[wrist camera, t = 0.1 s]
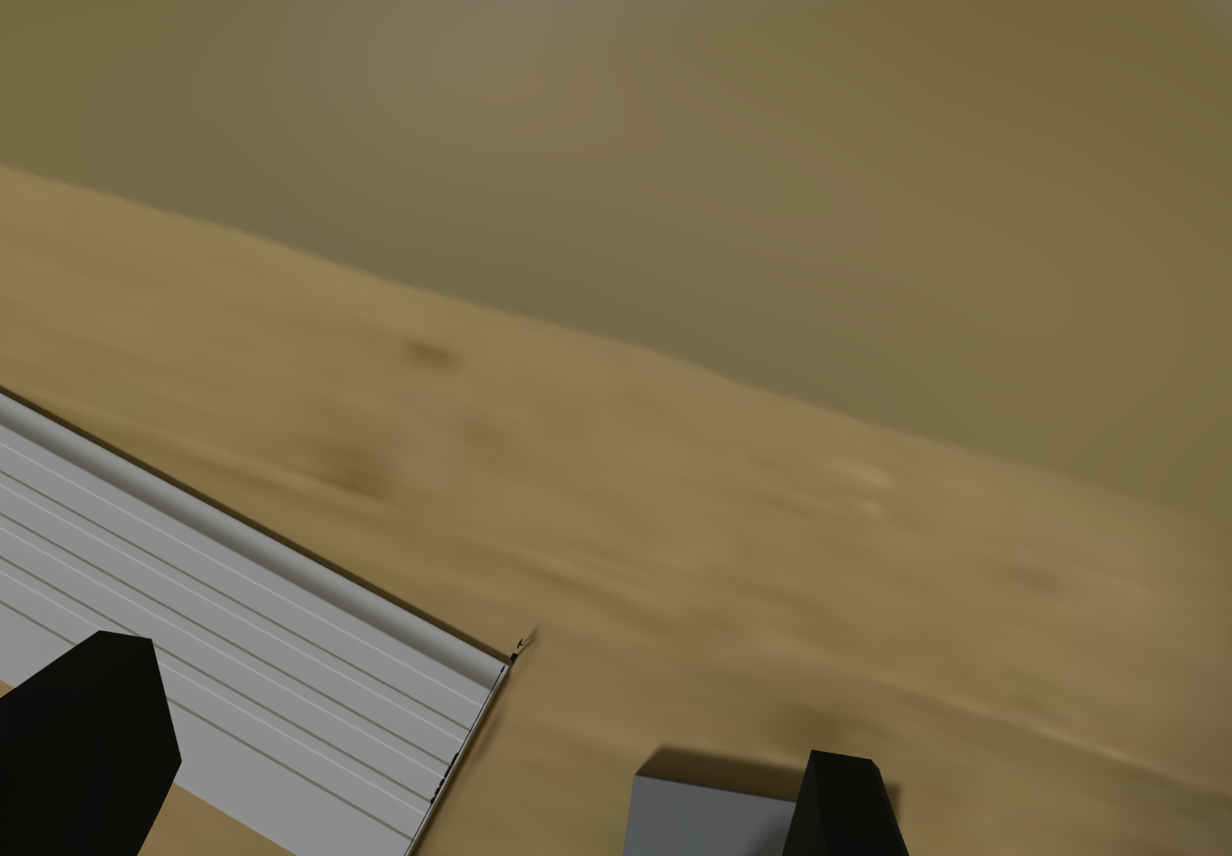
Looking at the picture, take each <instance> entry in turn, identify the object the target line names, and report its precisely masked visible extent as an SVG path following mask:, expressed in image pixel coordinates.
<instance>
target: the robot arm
mask: <svg viewBox="0 0 1232 856" xmlns="http://www.w3.org/2000/svg"><path fill="white" fill-rule="evenodd" d="M181 763H182V759H181V755H180V751H179V746H178V742H177V738H176V734H175V730H174V726H173V722H172V718H171V714H170V710H169V706H168V702H167V698H166V694H165V690H164V686H163V682H162V678H161V674H160V670H159V666H158V662H157V658H156V654H155V650H154V646H153V642H152V639H151V638H145V637H139V636H133V635H127V634H121V633H115V632H109V631H103V630H99V631H97V632H96V633H94V634H93V635H91V636H90V637H88V638H87V639H85V640H84V641H82V642H81V643H79V644H78V645H76V646H75V647H73V648H72V649H70V650H69V651H67V652H66V653H64V654H63V655H61V656H60V657H59V658H57V659H56V660H54V661H53V662H51V663H50V664H49V665H47V666H46V667H44V668H43V669H41V670H40V671H39V672H37V673H36V674H34V675H33V676H31V677H30V678H29V679H27V680H26V681H24V682H23V683H21V684H20V685H19V686H17V687H16V688H14V689H13V690H11V691H10V692H9V693H7V694H6V695H4V696H3V697H1V698H0V856H137V855H138V853H139V851H140V849H141V847H142V845H143V843H144V841H145V839H146V837H147V835H148V833H149V831H150V829H151V827H152V825H153V823H154V821H155V819H156V817H157V815H158V813H159V811H160V809H161V807H162V804H163V802H164V800H165V798H166V796H167V794H168V791H169V789H170V787H171V785H172V783H173V781H174V778H175V776H176V774H177V772H178V770H179V768H180V765H181ZM782 856H909V854H908V851H907V848H906V846H905V843H904V841H903V838H902V835H901V833H900V830H899V827H898V824H897V821H896V819H895V816H894V813H893V810H892V807H891V804H890V801H889V798H888V796H887V793H886V790H885V786H884V783H883V780H882V777H881V774H880V770H879V768H878V767H877V766H876V765H875V764H874V762H873V761H872V760H871V759H865V758H859V757H853V756H847V755H841V754H835V753H829V752H823V751H817V750H811V754H810V757H809V761H808V764H807V768H806V771H805V775H804V778H803V782H802V785H801V789H800V792H799V796H798V799H797V803H796V807H795V810H794V814H793V817H792V821H791V824H790V828H789V831H788V835H787V838H786V842H785V845H784V849H783V852H782Z"/></svg>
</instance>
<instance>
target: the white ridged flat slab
mask: <svg viewBox="0 0 1232 856" xmlns="http://www.w3.org/2000/svg"><path fill="white" fill-rule="evenodd" d="M99 630H103V631H109V632H115V633H121V634H127V635H133V636H139V637H145V638H151V639H152V642H153V646H154V650H155V654H156V658H157V662H158V666H159V670H160V674H161V678H162V682H163V686H164V690H165V694H166V698H167V702H168V706H169V710H170V714H171V718H172V722H173V726H174V730H175V734H176V738H177V742H178V746H179V751H180V755H181V759H182V763H181V765H180V768H179V770H178V772H177V774H176V776H175V778H174V781H173V782H174V783H175V784H177V785H179V786H181V787H182V788H184V789H186V790H187V791H189V792H191V793H192V794H194V795H196V796H197V797H199V798H201V799H202V800H204V801H206V802H207V803H209V804H211V805H213V806H214V807H216V808H218V809H219V810H221V811H223V812H224V813H226V814H228V815H229V816H231V817H233V818H234V819H236V820H238V821H239V822H241V823H243V824H245V825H246V826H248V827H250V828H251V829H253V830H255V831H256V832H258V833H260V834H261V835H263V836H265V837H266V838H268V839H270V840H271V841H273V842H275V843H277V844H278V845H280V846H282V847H283V848H285V849H287V850H288V851H290V852H292V853H293V854H295V855H297V856H411V854H412V852H413V850H414V848H415V846H416V844H417V843H418V841H419V839H420V837H421V835H422V833H423V831H424V829H425V827H426V825H427V824H428V822H429V820H430V818H431V816H432V814H433V812H434V810H435V808H436V806H437V805H438V803H439V801H440V799H441V797H442V795H443V793H444V791H445V789H446V787H447V786H448V784H449V782H450V780H451V778H452V776H453V774H454V772H455V770H456V768H457V767H458V765H459V763H460V761H461V759H462V757H463V755H464V753H465V751H466V749H467V748H468V746H469V744H470V742H471V740H472V738H473V736H474V734H475V732H476V730H477V729H478V727H479V725H480V723H481V721H482V719H483V717H484V715H485V713H486V711H487V710H488V708H489V706H490V704H491V702H492V700H493V698H494V696H495V694H496V692H497V691H498V689H499V687H500V685H501V683H502V681H503V679H504V677H505V675H506V673H507V672H508V670H509V668H510V666H509V665H507V664H505V663H503V662H501V661H499V660H498V659H496V658H494V657H492V656H490V655H488V654H486V653H485V652H483V651H481V650H479V649H477V648H475V647H473V646H472V645H470V644H468V643H466V642H464V641H462V640H460V639H458V638H457V637H455V636H453V635H451V634H449V633H447V632H445V631H444V630H442V629H440V628H438V627H436V626H434V625H432V624H431V623H429V622H427V621H425V620H423V619H421V618H419V617H417V616H416V615H414V614H412V613H410V612H408V611H406V610H404V609H403V608H401V607H399V606H397V605H395V604H393V603H391V602H389V601H388V600H386V599H384V598H382V597H380V596H378V595H376V594H375V593H373V592H371V591H369V590H367V589H365V588H363V587H362V586H360V585H358V584H356V583H354V582H352V581H350V580H348V579H347V578H345V577H343V576H341V575H339V574H337V573H335V572H334V571H332V570H330V569H328V568H326V567H324V566H322V565H321V564H319V563H317V562H315V561H313V560H311V559H309V558H307V557H306V556H304V555H302V554H300V553H298V552H296V551H294V550H293V549H291V548H289V547H287V546H285V545H283V544H281V543H280V542H278V541H276V540H274V539H272V538H270V537H268V536H266V535H265V534H263V533H261V532H259V531H257V530H255V529H253V528H252V527H250V526H248V525H246V524H244V523H242V522H240V521H238V520H237V519H235V518H233V517H231V516H229V515H227V514H225V513H224V512H222V511H220V510H218V509H216V508H214V507H212V506H211V505H209V504H207V503H205V502H203V501H201V500H199V499H197V498H196V497H194V496H192V495H190V494H188V493H186V492H184V491H183V490H181V489H179V488H177V487H175V486H173V485H171V484H170V483H168V482H166V481H164V480H162V479H160V478H158V477H156V476H155V475H153V474H151V473H149V472H147V471H145V470H143V469H142V468H140V467H138V466H136V465H134V464H132V463H130V462H129V461H127V460H125V459H123V458H121V457H119V456H117V455H115V454H114V453H112V452H110V451H108V450H106V449H104V448H102V447H101V446H99V445H97V444H95V443H93V442H91V441H89V440H87V439H86V438H84V437H82V436H80V435H78V434H76V433H74V432H73V431H71V430H69V429H67V428H65V427H63V426H61V425H60V424H58V423H56V422H54V421H52V420H50V419H48V418H46V417H45V416H43V415H41V414H39V413H37V412H35V411H33V410H32V409H30V408H28V407H26V406H24V405H22V404H20V403H19V402H17V401H15V400H13V399H11V398H9V397H7V396H5V395H4V394H2V393H0V680H2V681H4V682H5V683H7V684H9V685H10V686H12V687H14V688H16V687H17V686H19V685H20V684H21V683H23V682H24V681H26V680H27V679H29V678H30V677H31V676H33V675H34V674H36V673H37V672H39V671H40V670H41V669H43V668H44V667H46V666H47V665H49V664H50V663H51V662H53V661H54V660H56V659H57V658H59V657H60V656H61V655H63V654H64V653H66V652H67V651H69V650H70V649H72V648H73V647H75V646H76V645H78V644H79V643H81V642H82V641H84V640H85V639H87V638H88V637H90V636H91V635H93V634H94V633H96V632H97V631H99ZM522 640H523V639H521V641H520V642H519V644H518V647H517V649H518V648H519V646H520V645H521V646H522V644H521V642H522ZM517 655H518V654H515V653H513V654H512V656H511V658H510V660H512V661H513V662H512V663H514V660H515V659H516V657H517Z"/></svg>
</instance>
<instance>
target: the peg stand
mask: <svg viewBox="0 0 1232 856" xmlns="http://www.w3.org/2000/svg"><path fill="white" fill-rule="evenodd" d="M796 803H797V801H794V800H788V799H782V798H776V797H770V796H764V795H758V794H752V793H747V792H741V791H735V790H729V789H723V788H717V787H711V786H706V785H700V784H694V783H688V782H682V781H676V780H670V779H664V778H659V777H653V776H647V775H641V774H635V778H634V785H633V792H632V799H631V806H630V813H629V819H628V826H627V833H626V840H625V847H624V854H623V856H782V852H783V849H784V845H785V842H786V838H787V835H788V831H789V828H790V824H791V821H792V817H793V814H794V810H795V807H796Z"/></svg>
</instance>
